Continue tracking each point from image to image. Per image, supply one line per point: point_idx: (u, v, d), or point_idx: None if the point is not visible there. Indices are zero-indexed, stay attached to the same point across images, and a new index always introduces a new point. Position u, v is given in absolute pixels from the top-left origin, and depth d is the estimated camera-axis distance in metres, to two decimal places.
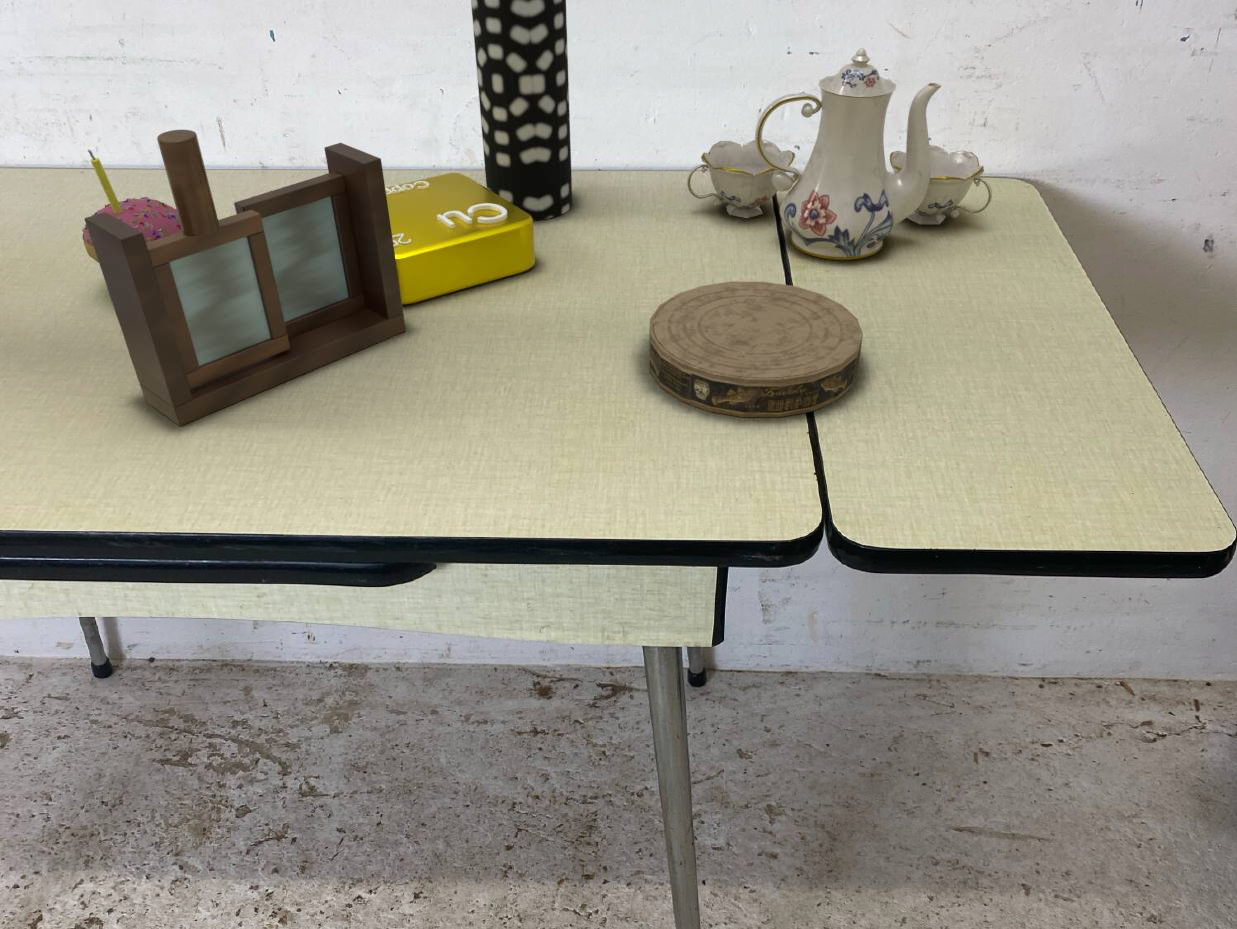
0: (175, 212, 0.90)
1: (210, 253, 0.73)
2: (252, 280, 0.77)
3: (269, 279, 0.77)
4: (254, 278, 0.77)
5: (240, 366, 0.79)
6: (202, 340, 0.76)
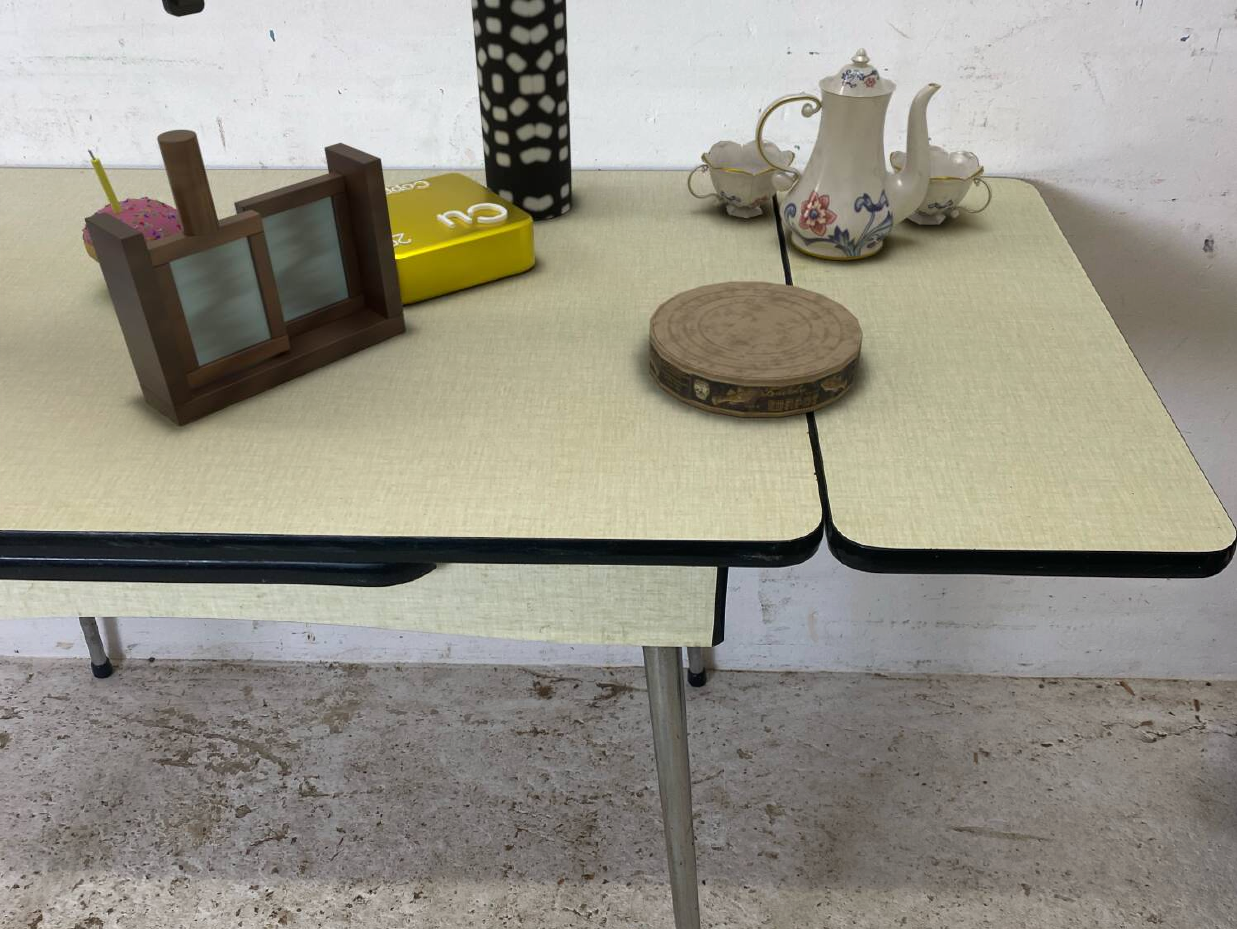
0: (175, 212, 0.90)
1: (210, 253, 0.73)
2: (252, 280, 0.77)
3: (269, 279, 0.77)
4: (254, 278, 0.77)
5: (240, 366, 0.79)
6: (202, 340, 0.76)
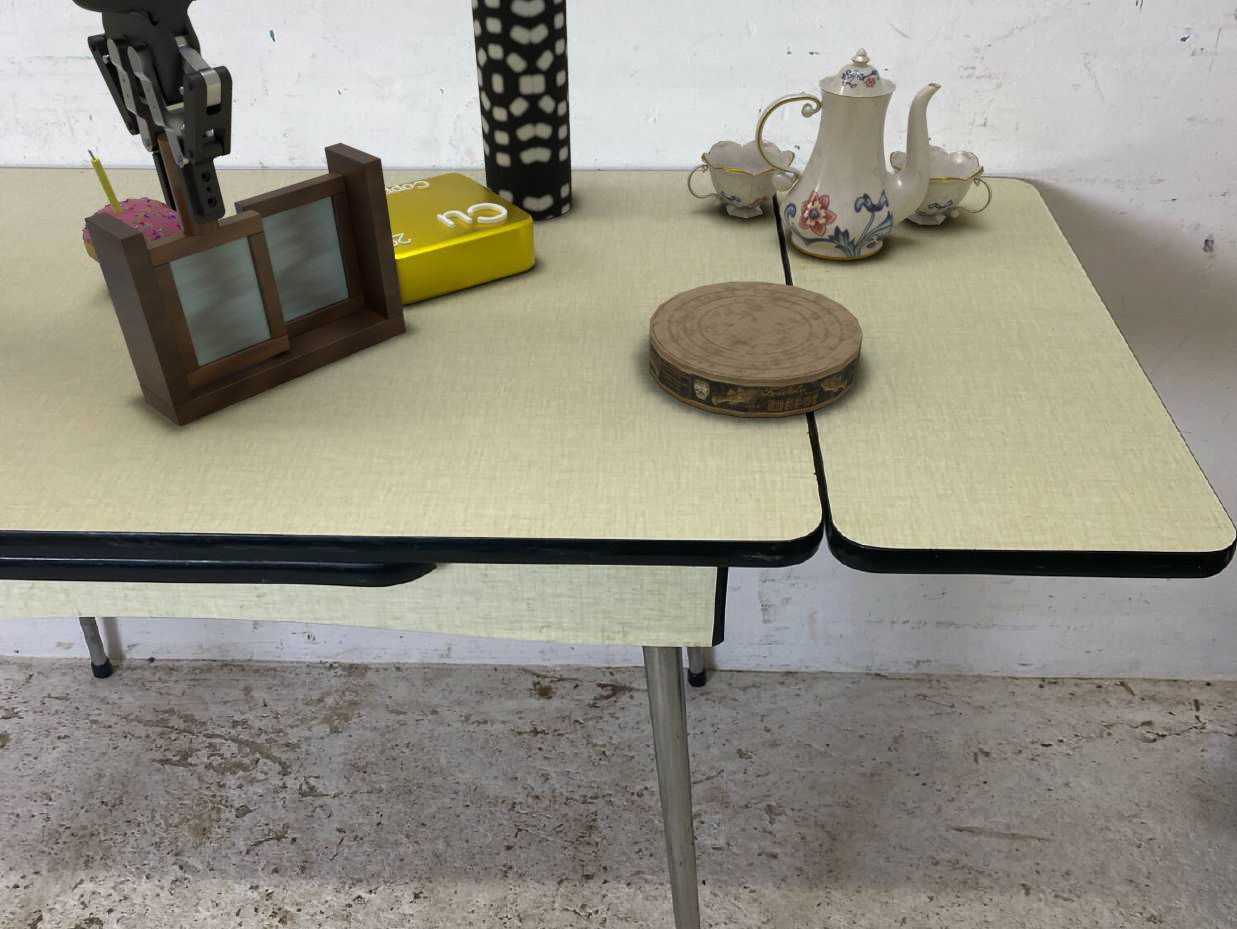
0: (175, 212, 0.90)
1: (210, 253, 0.73)
2: (252, 280, 0.77)
3: (269, 279, 0.77)
4: (254, 278, 0.77)
5: (240, 366, 0.79)
6: (202, 340, 0.76)
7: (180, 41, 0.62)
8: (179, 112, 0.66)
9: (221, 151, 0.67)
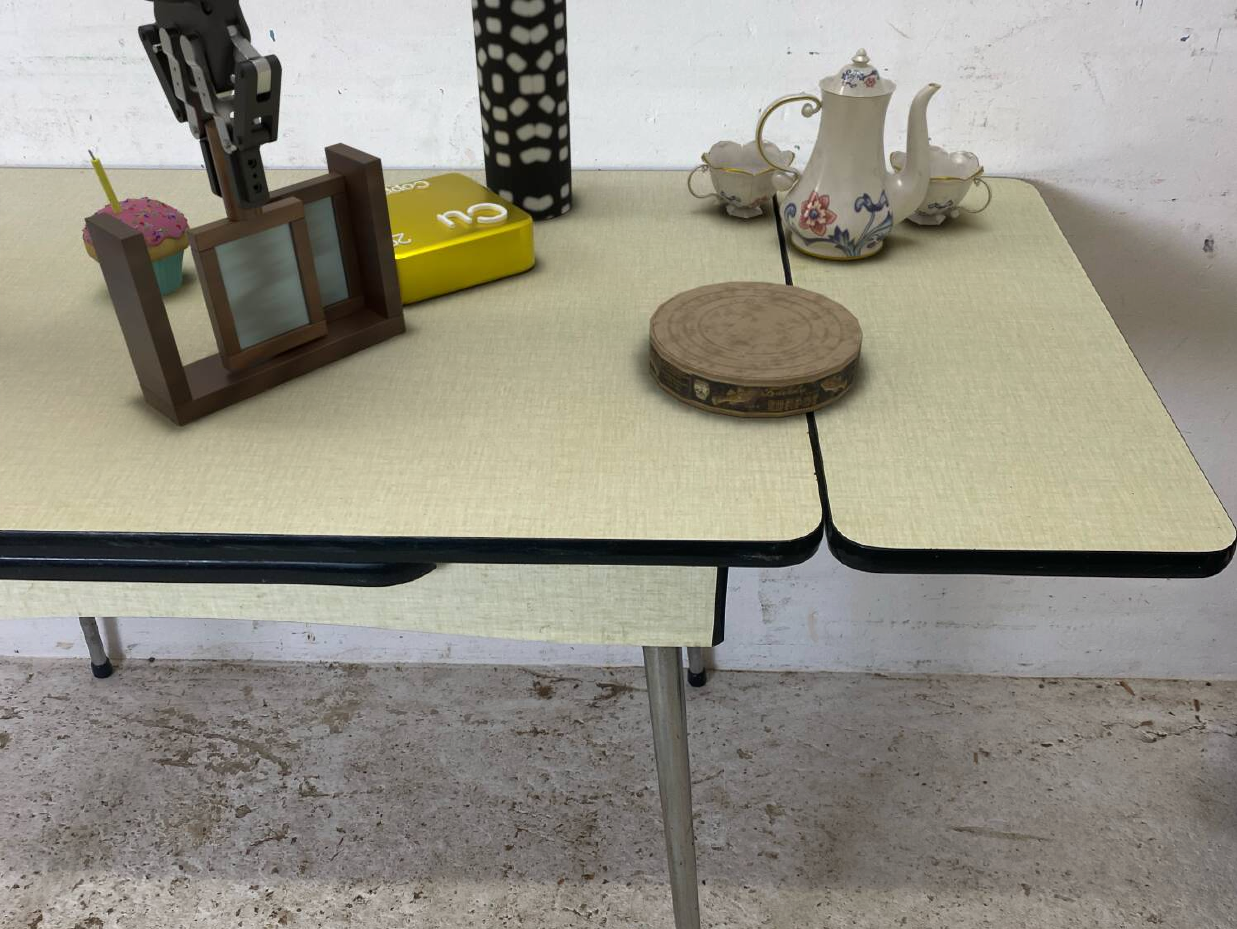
0: (175, 212, 0.90)
1: (253, 239, 0.75)
2: (292, 266, 0.78)
3: (309, 265, 0.79)
4: (294, 263, 0.78)
5: (280, 350, 0.81)
6: (244, 324, 0.78)
7: (232, 30, 0.64)
8: (228, 100, 0.68)
9: (268, 138, 0.68)
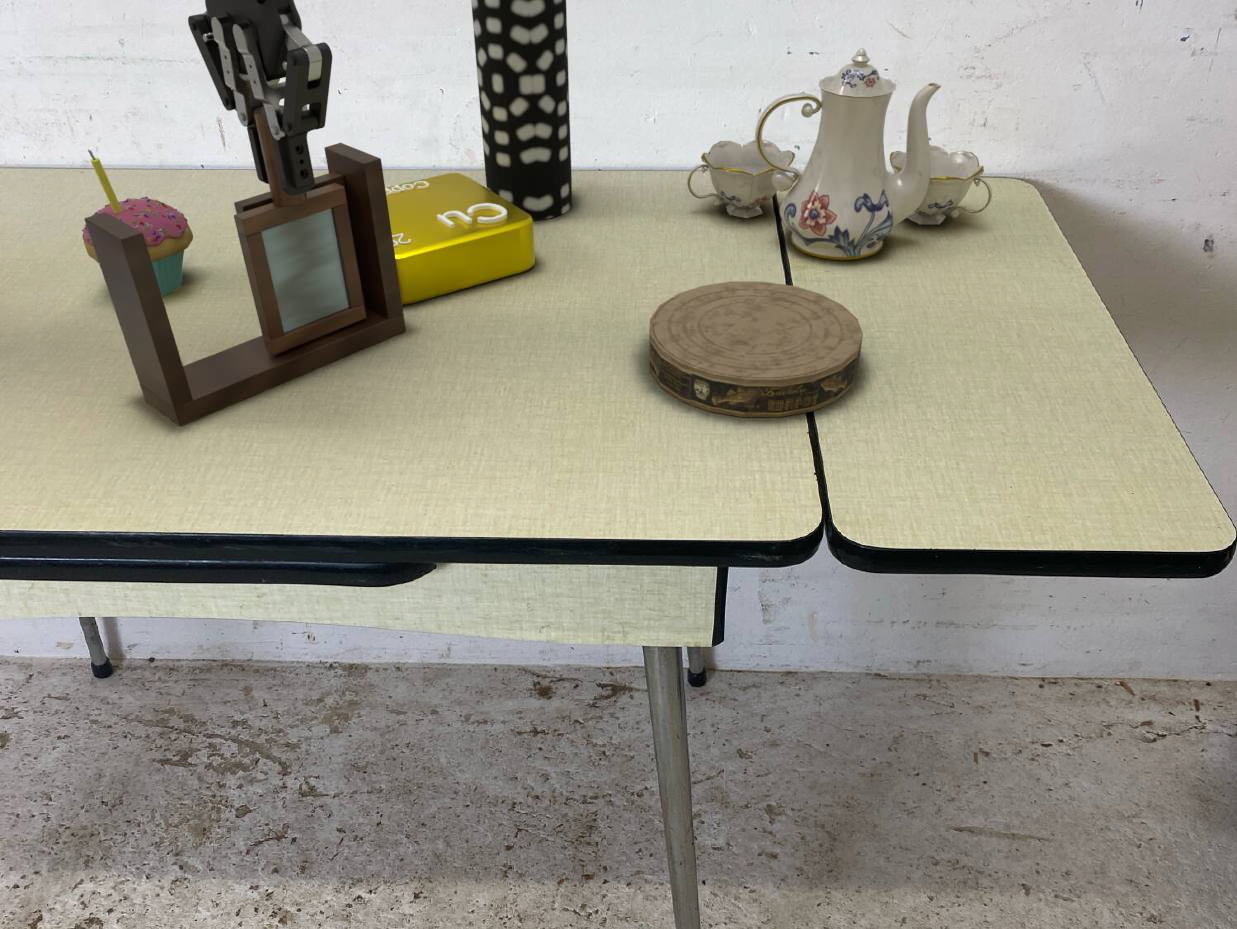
0: (175, 212, 0.90)
1: (298, 224, 0.77)
2: (334, 251, 0.80)
3: (350, 250, 0.81)
4: (336, 248, 0.80)
5: (320, 334, 0.82)
6: (287, 308, 0.80)
7: (284, 19, 0.66)
8: (278, 87, 0.69)
9: (316, 124, 0.70)
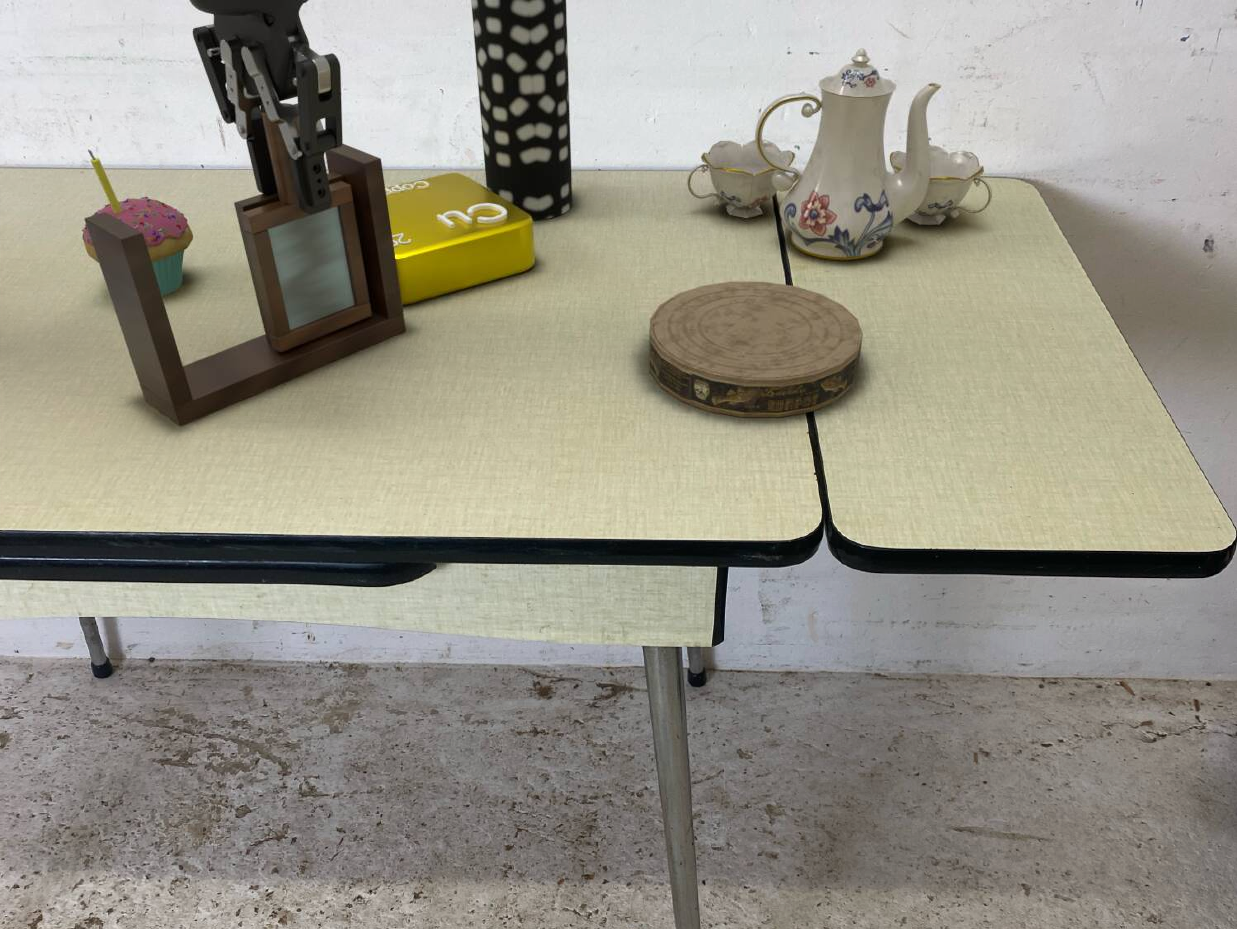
0: (175, 212, 0.90)
1: (304, 222, 0.77)
2: (340, 249, 0.81)
3: (356, 248, 0.81)
4: (342, 246, 0.81)
5: (326, 331, 0.83)
6: (293, 305, 0.80)
7: (292, 41, 0.67)
8: (291, 105, 0.70)
9: (334, 142, 0.70)
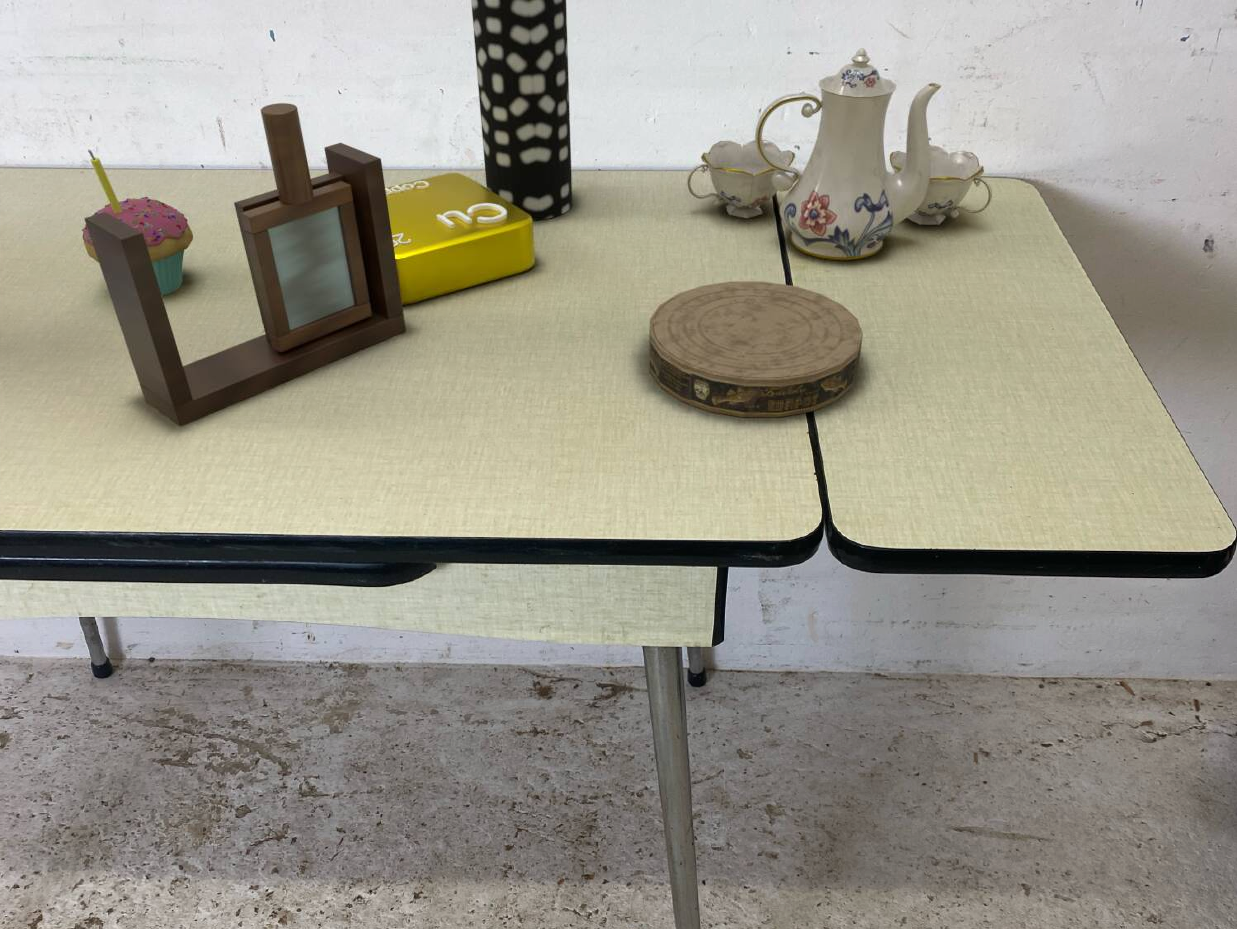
0: (175, 212, 0.90)
1: (304, 222, 0.77)
2: (340, 249, 0.81)
3: (356, 248, 0.81)
4: (342, 246, 0.81)
5: (326, 331, 0.83)
6: (293, 305, 0.80)
7: None
8: None
9: None
